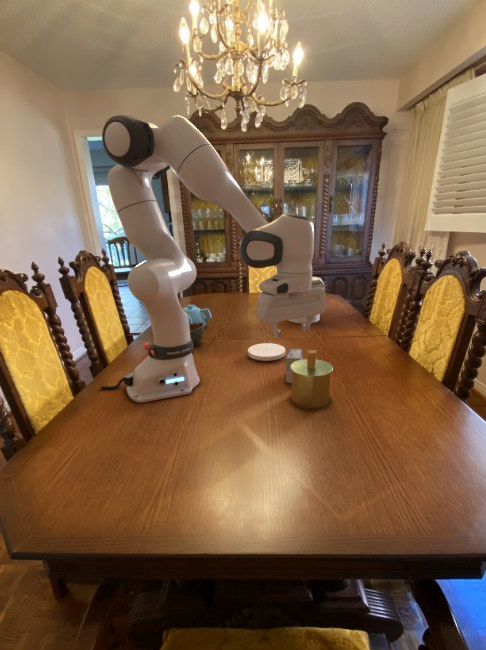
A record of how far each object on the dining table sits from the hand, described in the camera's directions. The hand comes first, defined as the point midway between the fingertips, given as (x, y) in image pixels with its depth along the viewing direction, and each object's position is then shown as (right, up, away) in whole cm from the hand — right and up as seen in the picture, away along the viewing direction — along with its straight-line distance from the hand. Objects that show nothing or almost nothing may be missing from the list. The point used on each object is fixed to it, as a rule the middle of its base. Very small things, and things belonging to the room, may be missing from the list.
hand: (291, 334), depth 93 cm
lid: (+6, -9, +1) cm, 11 cm away
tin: (+6, -19, +5) cm, 20 cm away
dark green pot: (-39, -3, +48) cm, 62 cm away
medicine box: (+3, -14, +19) cm, 23 cm away
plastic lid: (-5, -6, +37) cm, 38 cm away
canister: (+15, +12, +82) cm, 84 cm away
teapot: (-40, +7, +74) cm, 84 cm away
